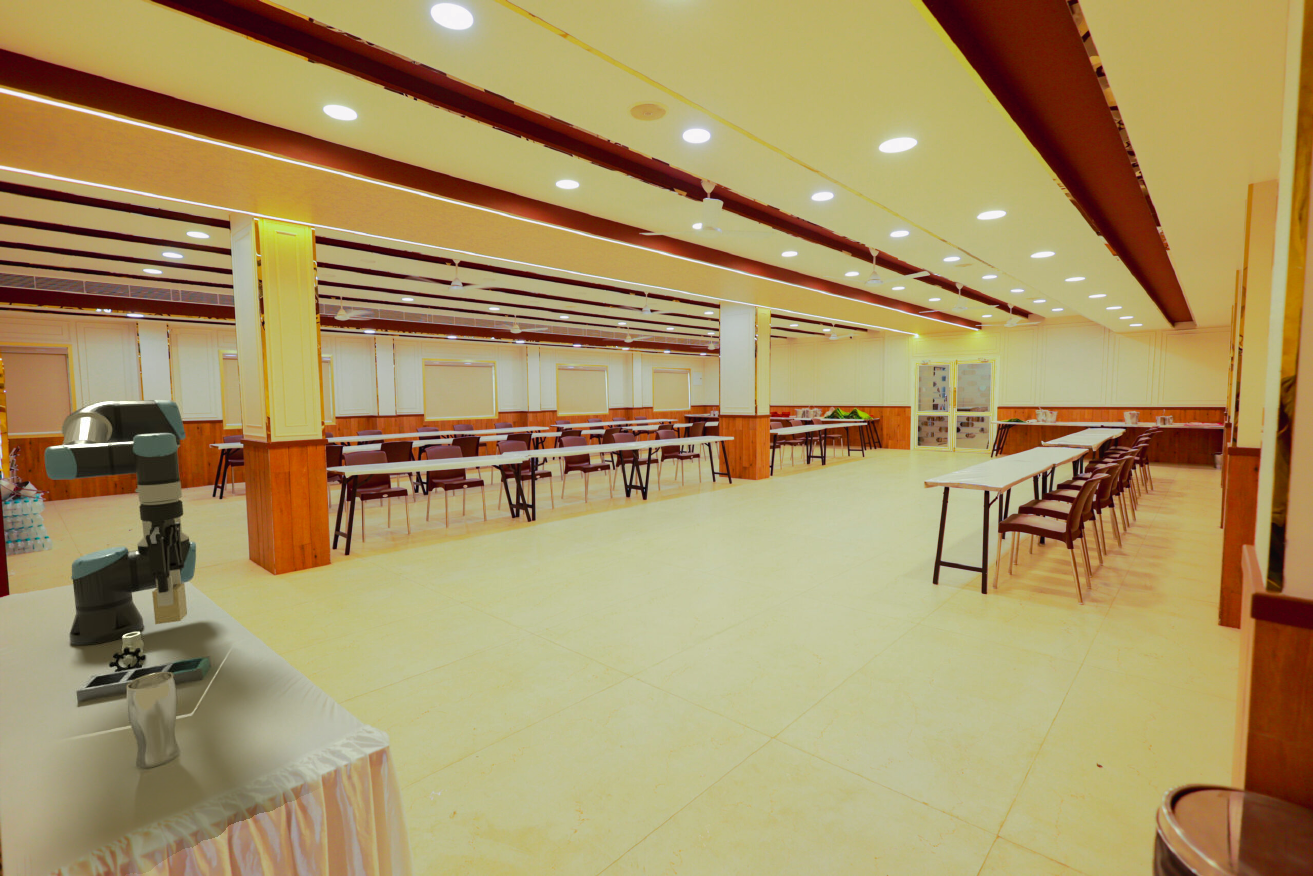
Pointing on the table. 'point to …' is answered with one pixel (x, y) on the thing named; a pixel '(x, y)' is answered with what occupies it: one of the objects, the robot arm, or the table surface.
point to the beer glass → (153, 718)
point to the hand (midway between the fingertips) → (170, 601)
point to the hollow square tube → (171, 606)
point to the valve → (130, 652)
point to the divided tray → (119, 680)
